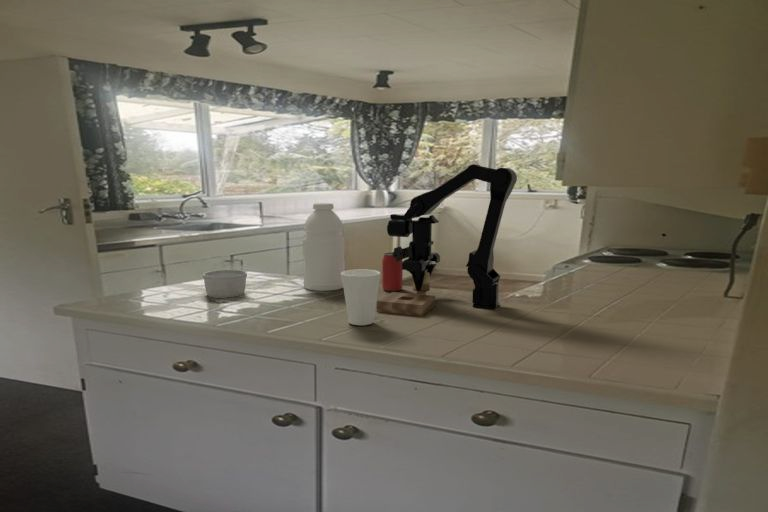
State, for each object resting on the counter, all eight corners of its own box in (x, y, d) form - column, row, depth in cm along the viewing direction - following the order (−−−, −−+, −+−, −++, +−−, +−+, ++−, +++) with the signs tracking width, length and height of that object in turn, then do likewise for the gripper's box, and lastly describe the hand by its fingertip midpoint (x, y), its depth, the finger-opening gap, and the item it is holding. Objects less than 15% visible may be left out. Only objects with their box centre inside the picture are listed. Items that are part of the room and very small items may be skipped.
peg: (431, 298, 162) (432, 272, 161) (426, 301, 157) (426, 275, 156) (415, 296, 164) (416, 271, 163) (410, 300, 159) (410, 273, 158)
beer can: (402, 292, 170) (402, 255, 168) (382, 291, 170) (382, 255, 169) (402, 287, 177) (402, 252, 175) (382, 287, 177) (382, 252, 175)
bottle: (304, 283, 184) (302, 202, 180) (344, 282, 185) (343, 202, 181) (302, 292, 170) (301, 204, 166) (345, 291, 172) (345, 204, 167)
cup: (343, 318, 139) (342, 269, 137) (381, 318, 138) (381, 269, 137) (339, 328, 129) (338, 276, 127) (380, 329, 129) (380, 276, 127)
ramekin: (256, 293, 169) (255, 271, 167) (223, 301, 158) (222, 278, 156) (228, 288, 176) (227, 268, 175) (194, 296, 165) (193, 274, 164)
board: (434, 306, 152) (435, 295, 151) (421, 316, 141) (421, 305, 140) (392, 302, 156) (392, 292, 156) (376, 311, 146) (376, 300, 145)
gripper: (407, 233, 169) (406, 281, 172) (384, 240, 152) (384, 293, 155) (440, 235, 165) (440, 284, 167) (421, 242, 148) (421, 296, 150)
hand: (421, 289), depth 160 cm, fingers closed on peg, 5 cm apart
